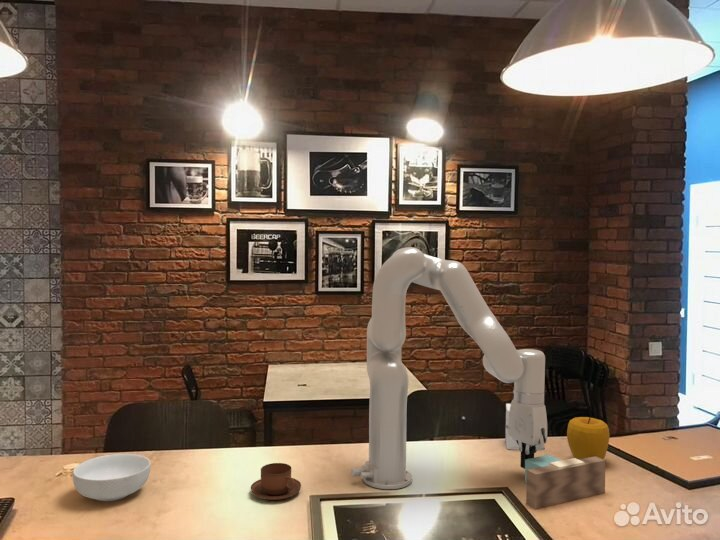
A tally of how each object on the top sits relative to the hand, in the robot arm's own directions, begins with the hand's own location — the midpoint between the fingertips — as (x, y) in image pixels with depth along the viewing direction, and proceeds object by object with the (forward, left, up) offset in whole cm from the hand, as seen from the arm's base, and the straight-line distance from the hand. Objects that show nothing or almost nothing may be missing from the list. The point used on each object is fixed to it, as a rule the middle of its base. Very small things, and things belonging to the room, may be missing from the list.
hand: (527, 467), depth 147 cm
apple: (+23, +1, -3) cm, 23 cm away
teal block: (+2, -7, -3) cm, 8 cm away
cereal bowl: (-98, +32, -3) cm, 103 cm away
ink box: (+14, +21, -3) cm, 26 cm away
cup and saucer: (-62, +17, -3) cm, 65 cm away
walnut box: (0, -14, -3) cm, 14 cm away
